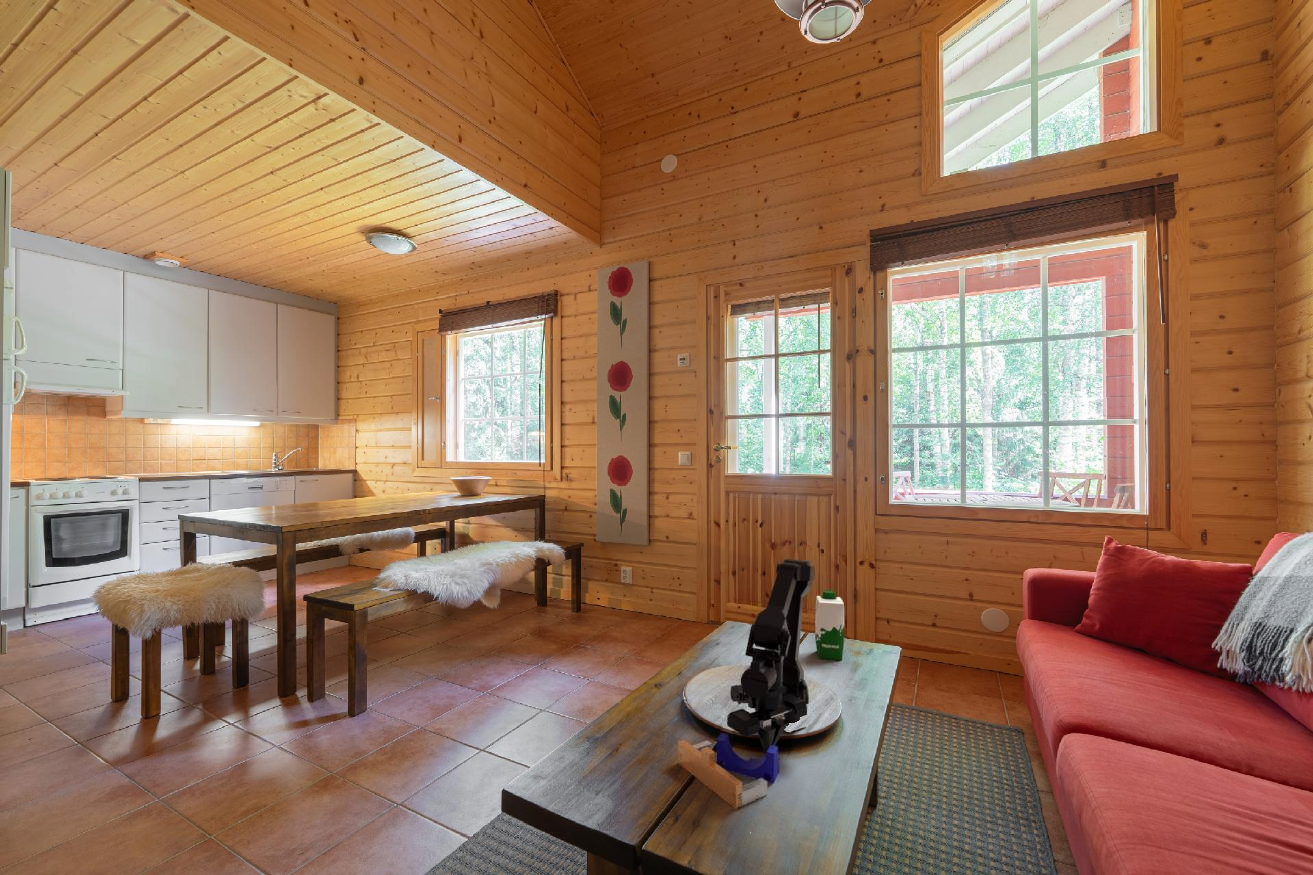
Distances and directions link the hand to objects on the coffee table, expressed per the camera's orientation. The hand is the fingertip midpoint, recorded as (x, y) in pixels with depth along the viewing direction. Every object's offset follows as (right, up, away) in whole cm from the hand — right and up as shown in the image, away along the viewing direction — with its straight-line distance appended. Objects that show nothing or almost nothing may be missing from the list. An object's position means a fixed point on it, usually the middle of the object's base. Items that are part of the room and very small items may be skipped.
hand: (767, 753), depth 121 cm
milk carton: (+32, -3, +62) cm, 69 cm away
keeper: (-11, -1, -7) cm, 13 cm away
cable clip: (-5, -1, -4) cm, 6 cm away
